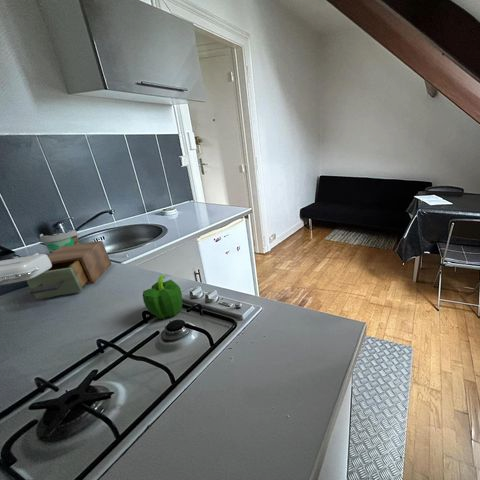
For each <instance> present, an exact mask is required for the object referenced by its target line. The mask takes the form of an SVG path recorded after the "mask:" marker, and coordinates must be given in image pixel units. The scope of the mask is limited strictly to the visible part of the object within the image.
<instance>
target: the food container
mask: <svg viewBox="0 0 480 480" xmlns="http://www.w3.org/2000/svg"><path fill="white" fill-rule="evenodd" d="M78 235H79V233H78V232H77V230H76V229H73V230H71V231H68V232H57V233H53V234H47V235H45V234H43V233H41V234H39V242H40V243H43V244H44V246H45V247H46V248H47V250H48V251H49V254H51V253H52V252H54V251H55V250H57V249H59V248H60V247H62V246H69V245H76V244H80V241H79V238H78V237H79V236H78Z"/></svg>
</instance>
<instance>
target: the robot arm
mask: <svg viewBox="0 0 480 480" xmlns="http://www.w3.org/2000/svg"><path fill="white" fill-rule="evenodd" d="M51 267H52V264H51V261H50V259H49V258H48V255H47V254H45V253H32V254H29V255H27V256H22V257H21V256H20V257H15V258H9V259H3V260H0V286H4V285H10V284H16V283H19V282H20V283H21V282H25V281H26V280H29V279H31V278H34V277H36V276H38V275H40V274H42V273H43V272H45V271H47V270H48V269H50V268H51Z"/></svg>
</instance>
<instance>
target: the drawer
mask: <svg viewBox="0 0 480 480" xmlns="http://www.w3.org/2000/svg"><path fill="white" fill-rule="evenodd" d="M88 280H89V278H88V276H87V274H86V272H85V269H84V267H83V265H82V263H81V261H80V260H75V261H68V262H62V263H56V264H52V267H51V268H50V269H48V270H47V271H45V272H43V273H42V274H40V275H38V276H36V277H34V278H31V279H29V280H25V281H26V283H27V285H28V287H29V294H31V295H33V296H34V297H35V299H36V300H40V299H41V300H42V299H47V298H51V297H57V296H63V295H68V294H74V293H79V292H82V291H83V289H84V288H83V286H85V285H84V284H85V283H86V282H87V281H88Z"/></svg>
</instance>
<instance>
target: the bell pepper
mask: <svg viewBox="0 0 480 480" xmlns="http://www.w3.org/2000/svg"><path fill="white" fill-rule="evenodd" d="M165 278H166V276H165V275H164V274H162V275H160V276H158V279H157V282H155V283H154V284H152V286H151V287H150V288H148V289H145V290H143V292H142V300H143V303H144V306H145V308H146V310H147V311H148V312H149V313H150V314H151V315H152V314H153V315H155V316H156V317H155V318H156V319H159V320H163V319H165V318H171V317H176V316H177V315H178V314H179V313H180V312H181V310H182V308H183V294H182V291H181V287H180V285H178V283H176V282H175V281H174V280H172V279H169V280H165V281H163V280H164V279H165ZM153 315H152V316H153Z"/></svg>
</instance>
